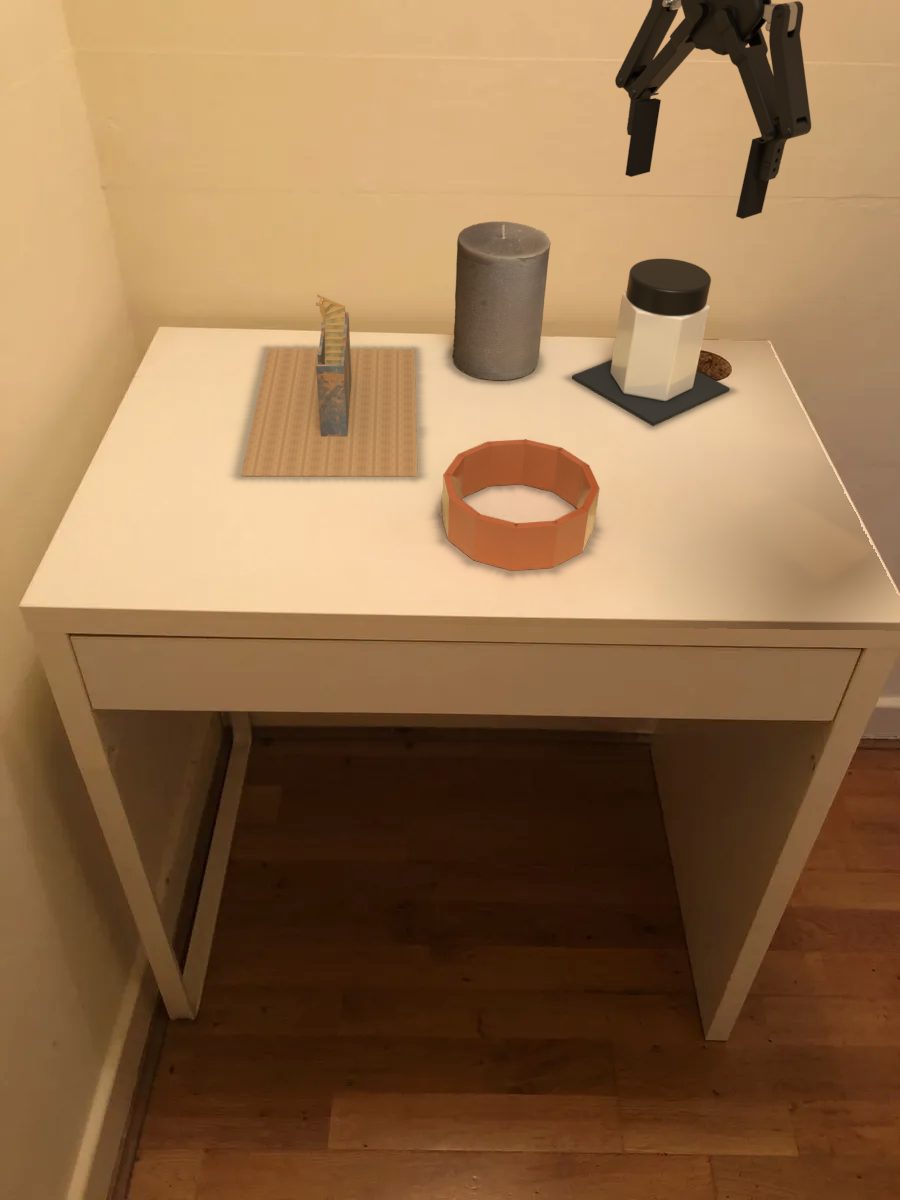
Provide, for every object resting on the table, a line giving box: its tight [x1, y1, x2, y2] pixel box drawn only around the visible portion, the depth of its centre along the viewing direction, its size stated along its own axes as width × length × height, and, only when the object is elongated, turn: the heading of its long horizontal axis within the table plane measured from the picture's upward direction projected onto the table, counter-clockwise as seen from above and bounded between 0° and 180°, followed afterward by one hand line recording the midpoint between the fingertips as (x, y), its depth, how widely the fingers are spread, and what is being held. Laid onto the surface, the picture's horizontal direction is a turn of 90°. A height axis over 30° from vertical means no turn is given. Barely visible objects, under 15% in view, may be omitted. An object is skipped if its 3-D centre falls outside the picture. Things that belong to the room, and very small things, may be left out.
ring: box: [441, 438, 601, 572], centre depth 86 cm, size 13×13×4 cm
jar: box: [611, 258, 712, 401], centre depth 102 cm, size 9×8×12 cm
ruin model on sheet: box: [241, 294, 418, 477], centre depth 98 cm, size 25×16×10 cm, turn 2°
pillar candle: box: [451, 221, 552, 381], centre depth 104 cm, size 10×10×15 cm
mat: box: [571, 359, 731, 426], centre depth 106 cm, size 12×12×1 cm
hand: (690, 193), depth 92 cm, fingers open, 13 cm apart
